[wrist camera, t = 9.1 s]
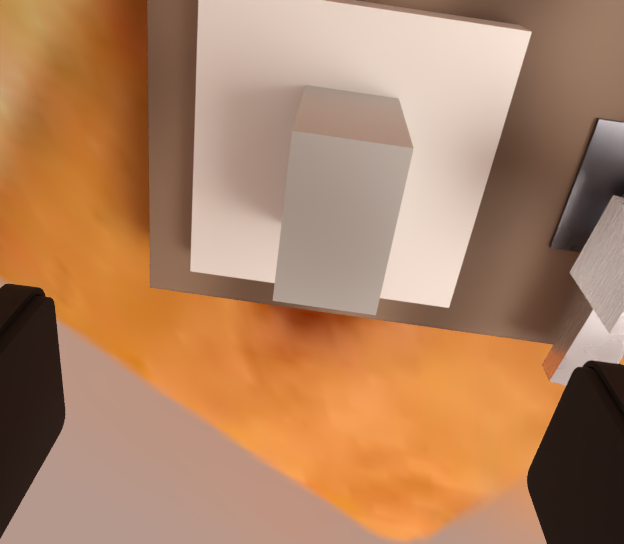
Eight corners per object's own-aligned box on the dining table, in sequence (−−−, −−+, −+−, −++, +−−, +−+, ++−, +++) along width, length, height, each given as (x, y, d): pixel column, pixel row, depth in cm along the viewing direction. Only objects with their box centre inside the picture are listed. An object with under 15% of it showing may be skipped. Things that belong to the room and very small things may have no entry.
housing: (831, 0, 21) (930, 13, 18) (665, 313, 28) (711, 369, 25) (179, -100, 21) (143, -106, 17) (174, 243, 28) (148, 289, 24)
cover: (519, 24, 19) (591, 64, 13) (443, 287, 24) (472, 397, 18) (209, -22, 19) (148, -3, 13) (199, 252, 24) (152, 352, 18)
